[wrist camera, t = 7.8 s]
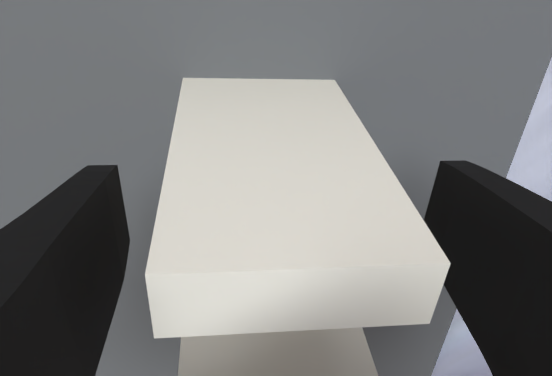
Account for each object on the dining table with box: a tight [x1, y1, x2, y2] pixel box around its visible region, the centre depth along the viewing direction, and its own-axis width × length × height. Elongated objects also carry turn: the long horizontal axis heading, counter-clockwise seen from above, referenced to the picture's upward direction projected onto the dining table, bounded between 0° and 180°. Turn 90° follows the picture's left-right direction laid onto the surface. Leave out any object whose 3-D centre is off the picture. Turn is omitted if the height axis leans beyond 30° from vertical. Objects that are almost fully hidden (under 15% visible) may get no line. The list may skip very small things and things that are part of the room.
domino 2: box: [178, 327, 378, 376], centre depth 14 cm, size 2×5×9 cm, turn 87°
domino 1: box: [145, 78, 451, 338], centre depth 11 cm, size 2×5×9 cm, turn 87°
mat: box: [0, 0, 552, 376], centre depth 19 cm, size 20×31×1 cm, turn 177°
